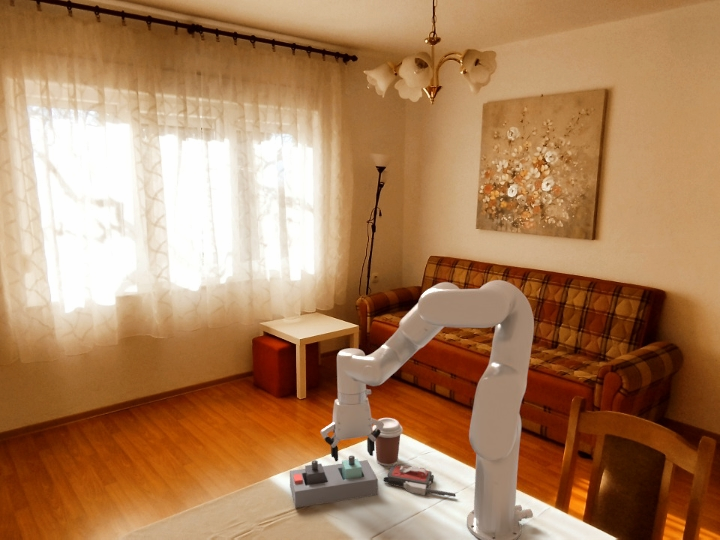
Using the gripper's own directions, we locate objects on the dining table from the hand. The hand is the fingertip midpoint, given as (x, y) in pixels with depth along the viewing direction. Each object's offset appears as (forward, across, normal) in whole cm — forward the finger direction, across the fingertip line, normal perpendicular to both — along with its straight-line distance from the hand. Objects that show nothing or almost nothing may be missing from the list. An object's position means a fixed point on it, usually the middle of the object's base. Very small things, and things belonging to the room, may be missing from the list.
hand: (353, 456), depth 138 cm
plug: (+9, 0, 0) cm, 9 cm away
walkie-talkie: (+10, -18, +3) cm, 21 cm away
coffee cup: (+10, -13, -12) cm, 20 cm away
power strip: (+9, +6, 0) cm, 11 cm away
